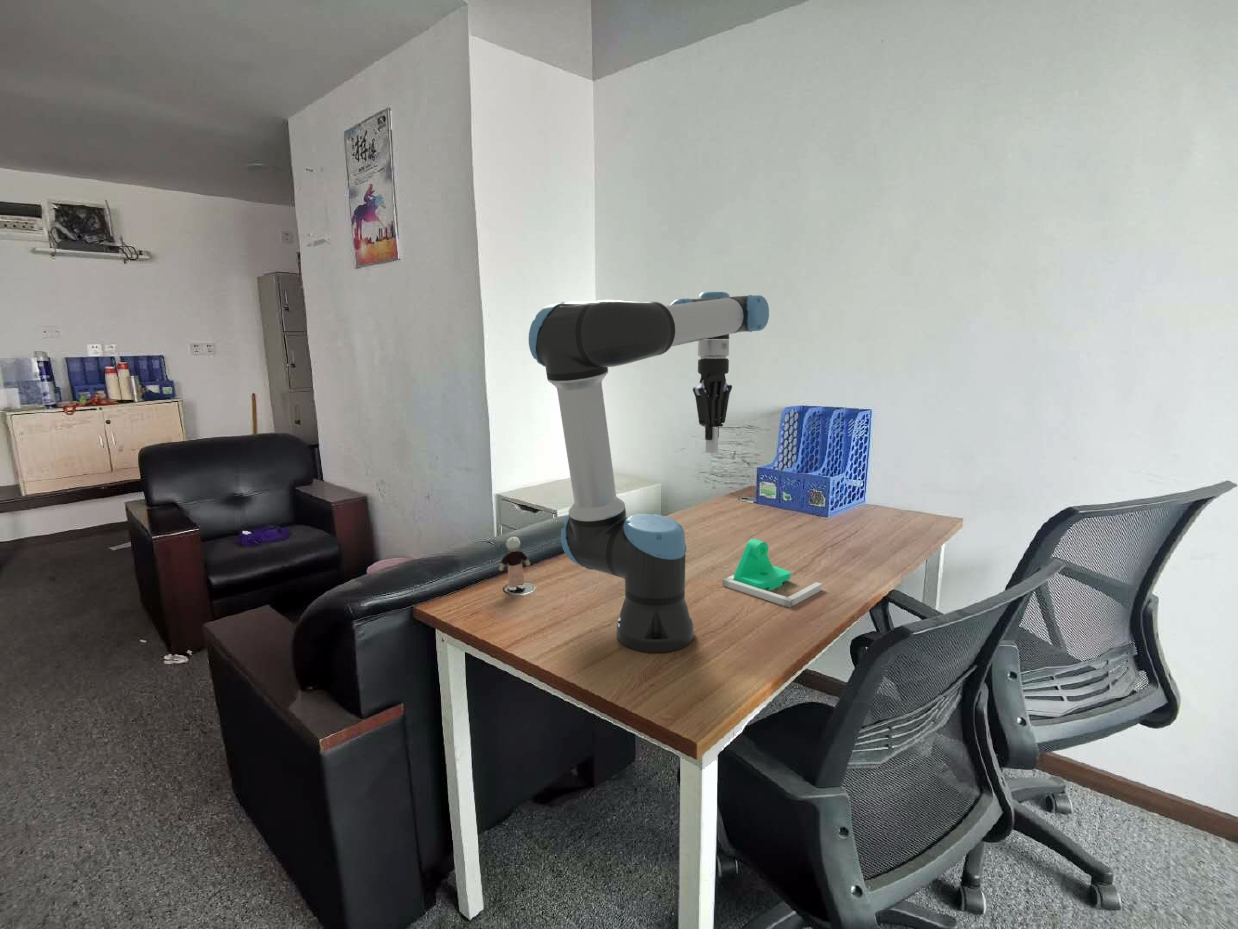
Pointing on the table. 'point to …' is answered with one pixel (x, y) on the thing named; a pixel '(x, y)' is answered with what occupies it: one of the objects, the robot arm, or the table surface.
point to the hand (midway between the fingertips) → (711, 452)
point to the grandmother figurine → (514, 562)
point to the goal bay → (772, 596)
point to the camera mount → (759, 568)
